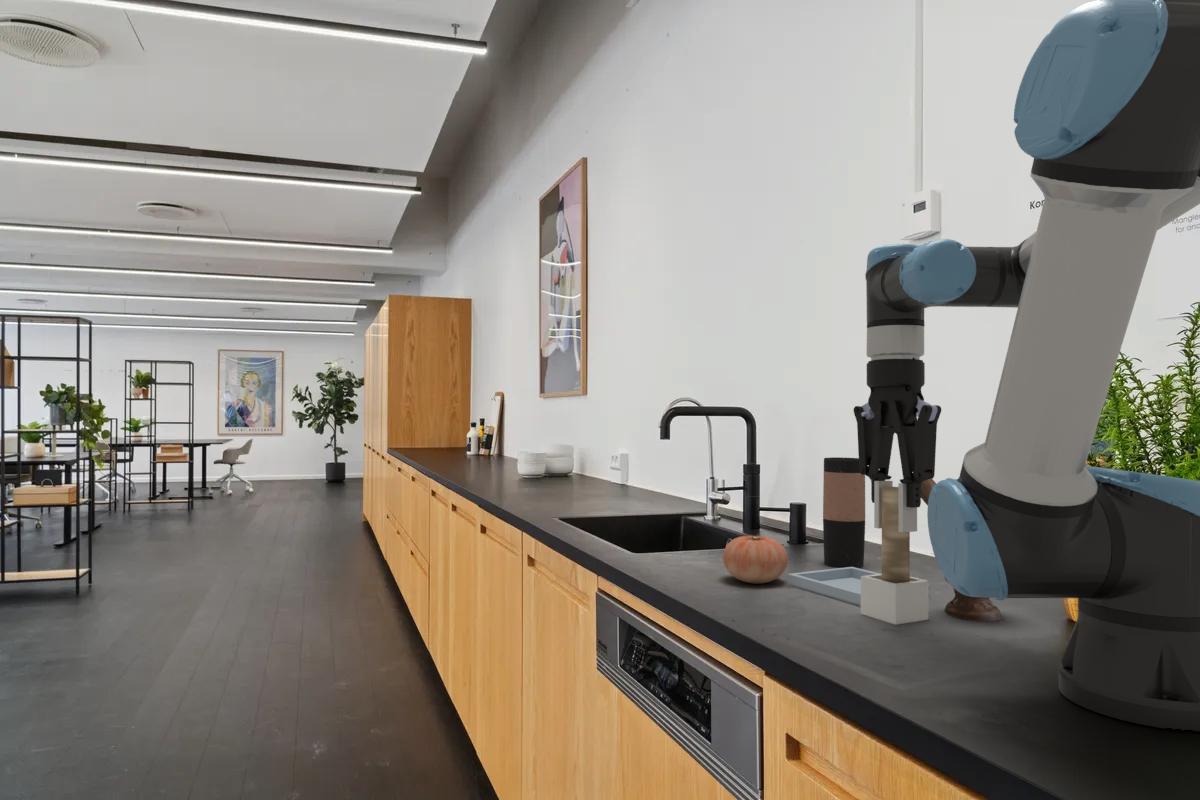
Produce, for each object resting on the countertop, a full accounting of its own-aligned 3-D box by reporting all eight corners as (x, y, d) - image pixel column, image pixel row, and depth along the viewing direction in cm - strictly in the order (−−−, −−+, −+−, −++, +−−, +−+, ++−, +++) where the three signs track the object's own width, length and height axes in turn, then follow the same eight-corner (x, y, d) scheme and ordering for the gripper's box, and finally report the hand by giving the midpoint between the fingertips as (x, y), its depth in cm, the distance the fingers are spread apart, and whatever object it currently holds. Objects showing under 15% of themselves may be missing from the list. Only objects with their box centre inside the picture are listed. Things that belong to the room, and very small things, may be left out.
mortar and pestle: (945, 631, 106) (945, 480, 106) (905, 614, 114) (906, 474, 114) (1019, 626, 108) (1020, 479, 109) (975, 610, 117) (976, 473, 117)
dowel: (915, 584, 109) (915, 488, 109) (896, 586, 107) (896, 489, 107) (894, 579, 112) (894, 486, 112) (875, 581, 110) (876, 487, 110)
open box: (928, 625, 108) (928, 580, 108) (895, 630, 106) (895, 585, 106) (892, 614, 114) (892, 572, 114) (860, 619, 111) (860, 576, 111)
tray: (929, 602, 121) (929, 585, 122) (861, 612, 115) (861, 594, 115) (851, 581, 136) (851, 566, 136) (787, 589, 129) (787, 573, 129)
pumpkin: (711, 583, 134) (712, 535, 134) (738, 572, 143) (738, 527, 143) (773, 591, 128) (773, 541, 128) (796, 580, 137) (797, 533, 137)
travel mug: (814, 564, 151) (815, 458, 151) (836, 559, 156) (836, 456, 156) (851, 570, 145) (852, 460, 145) (872, 565, 150) (873, 458, 151)
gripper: (965, 356, 104) (966, 535, 104) (869, 363, 119) (869, 521, 119) (925, 353, 101) (925, 539, 100) (831, 361, 116) (831, 523, 115)
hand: (895, 529), depth 110 cm, fingers closed on dowel, 3 cm apart
